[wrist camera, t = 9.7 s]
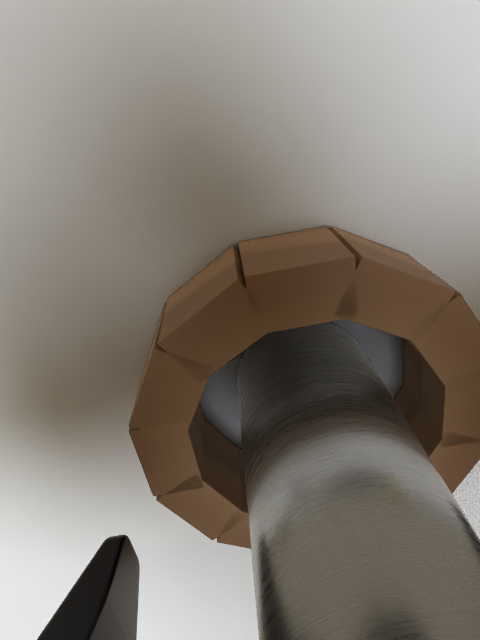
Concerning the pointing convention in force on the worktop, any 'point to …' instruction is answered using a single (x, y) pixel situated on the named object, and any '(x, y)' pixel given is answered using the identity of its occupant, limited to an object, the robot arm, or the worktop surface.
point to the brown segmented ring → (285, 313)
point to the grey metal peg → (346, 502)
